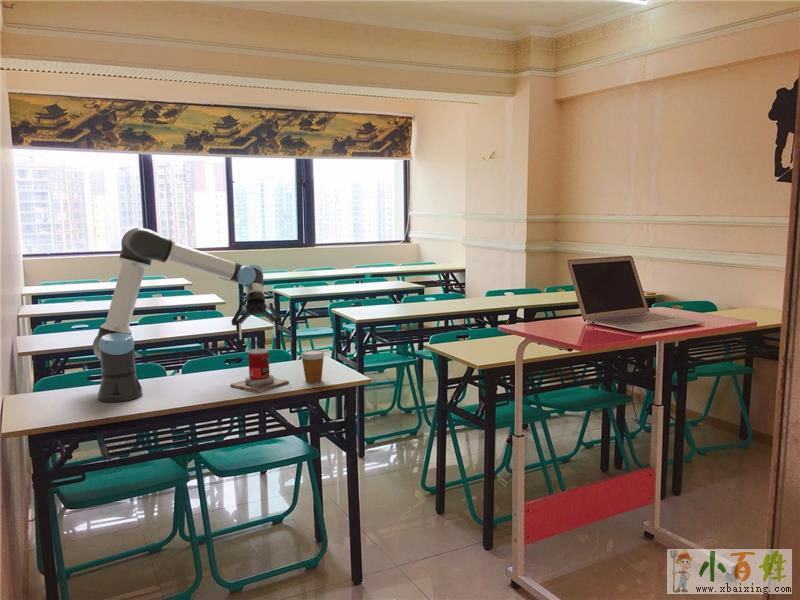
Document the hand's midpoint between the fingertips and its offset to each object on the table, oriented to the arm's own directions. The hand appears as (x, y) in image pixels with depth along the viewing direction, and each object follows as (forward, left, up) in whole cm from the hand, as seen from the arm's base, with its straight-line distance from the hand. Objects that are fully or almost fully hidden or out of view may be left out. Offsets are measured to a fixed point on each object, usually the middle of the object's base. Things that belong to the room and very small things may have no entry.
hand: (257, 337), depth 256 cm
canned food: (+7, -6, -15) cm, 18 cm away
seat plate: (+7, -6, -18) cm, 20 cm away
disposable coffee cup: (+21, +10, -18) cm, 29 cm away
